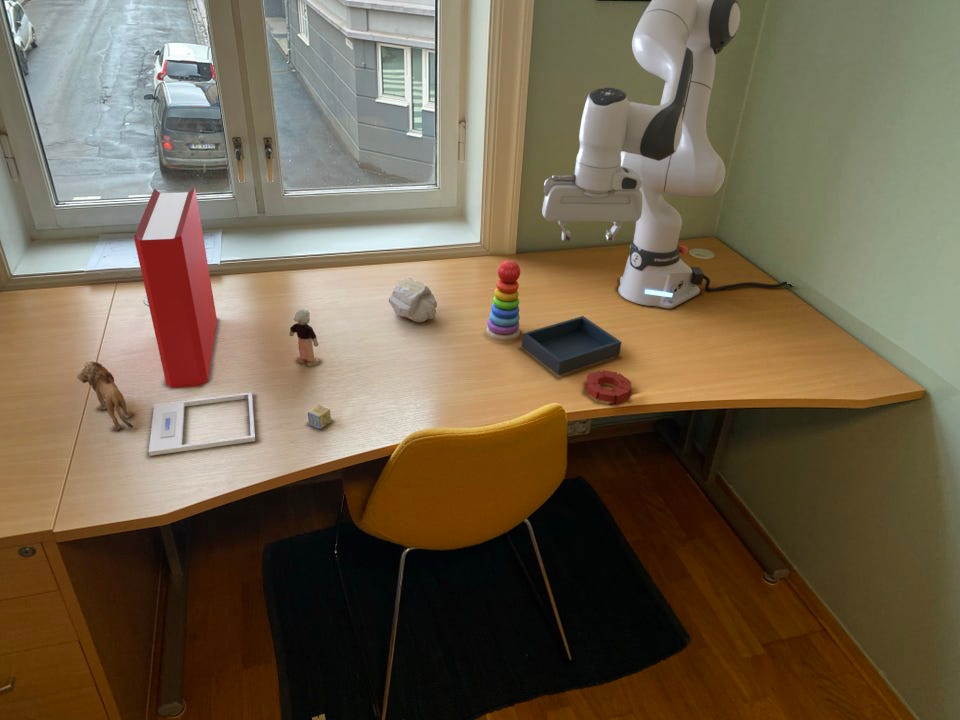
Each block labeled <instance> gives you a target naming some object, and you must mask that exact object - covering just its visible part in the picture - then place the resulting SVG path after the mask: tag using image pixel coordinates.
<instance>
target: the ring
mask: <svg viewBox="0 0 960 720" xmlns="http://www.w3.org/2000/svg"><path fill="white" fill-rule="evenodd" d="M602 384H609V385H613V386H614V388H607V387H603V386H602ZM631 388H632V382H631V379H628V377H625V376H624V375H623V374H622V373H618V372H617V371H612V370H606V369H604V370H603V369H602V370H600V369H599V370H597V371H593V372H591V373H588V374H587V375H586V382H585V388H584V390H585V392H586V393H587V394H588V395H590V396H591V397H592V398H593V399H595V400H598V401H600V402H601V401H602V402H607V403H606V405H609V406H618V405H621V404H623V403H626V402H628V401H629V400H630V395H631Z"/></svg>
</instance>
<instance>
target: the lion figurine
mask: <svg viewBox="0 0 960 720" xmlns="http://www.w3.org/2000/svg"><path fill="white" fill-rule="evenodd" d="M83 366H84V368H83V369H82V370H81V372H80V373H79V374H78V375H77V376H76V378H77V379H78V381H80V382H82V383H83V384H87V383H88V385H89V386H91V388H92V390H93V391H94V392H95V394H96V398H97V400H98V401H99V404H100V405H99V406H98V409H99V410H100V411H104V410H106V411H107V413H108V415H109V417H110V418H111V420H112V423H113V424H114V425H113V430H114V431H118V430H120V429H121V425H120V423H119V420H118V418H119V419H120V420H121V421H122V422H123V423H124V424H125V425H126V426H127V427H128V428H129V429H134V425H133V424H132V423H130V421H129V422H128V420H126V418H127V419H128V418H131V417H132V413H131V412H129V411H128V408H127V403H126V400H125V398H124V396H123V393H121V391H120V389H119V387H118V385H116V383H115V377H114V376H113V374H112V372H110V371H109V370H108V369H107V368H106V367H105V366H103V365H102V364H101V363H99V362H97V361H93V360H92V361H87V362H85V363H84V365H83ZM115 410H116V413H117V415H118V418H117V417H116V415H115ZM121 410H122V412H121ZM123 415H124V416H123Z"/></svg>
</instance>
